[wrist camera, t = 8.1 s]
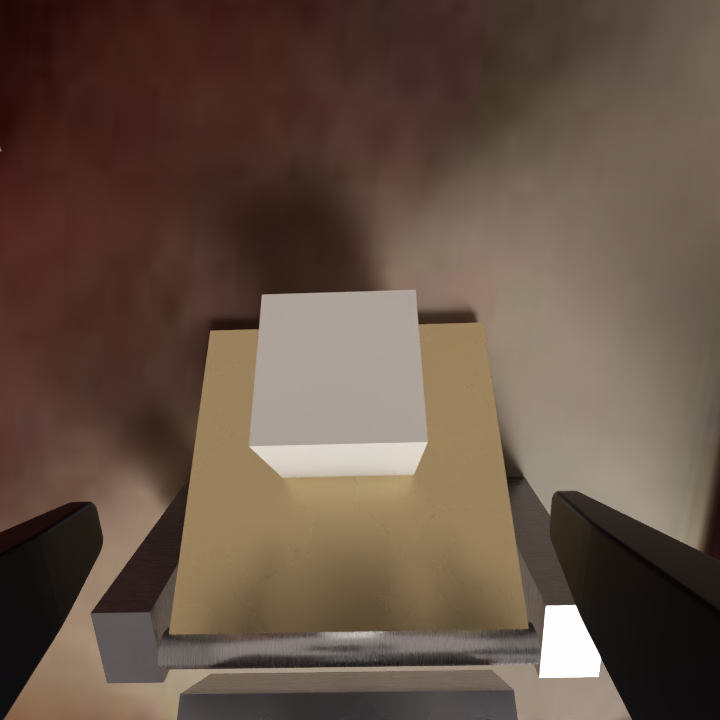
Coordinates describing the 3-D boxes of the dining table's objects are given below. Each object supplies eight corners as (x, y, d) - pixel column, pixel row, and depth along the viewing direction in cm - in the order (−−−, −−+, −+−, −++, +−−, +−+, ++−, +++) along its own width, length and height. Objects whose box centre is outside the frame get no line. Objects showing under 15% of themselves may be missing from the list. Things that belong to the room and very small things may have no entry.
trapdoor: (479, 340, 21) (493, 310, 19) (560, 910, 13) (603, 991, 11) (218, 348, 22) (197, 319, 19) (148, 911, 14) (95, 990, 11)
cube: (406, 355, 19) (415, 289, 15) (413, 474, 17) (427, 442, 12) (288, 358, 19) (262, 294, 15) (282, 477, 17) (248, 446, 13)
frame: (524, 477, 22) (608, 604, 15) (520, 529, 23) (598, 676, 15) (184, 484, 23) (90, 613, 15) (192, 536, 23) (107, 683, 16)
